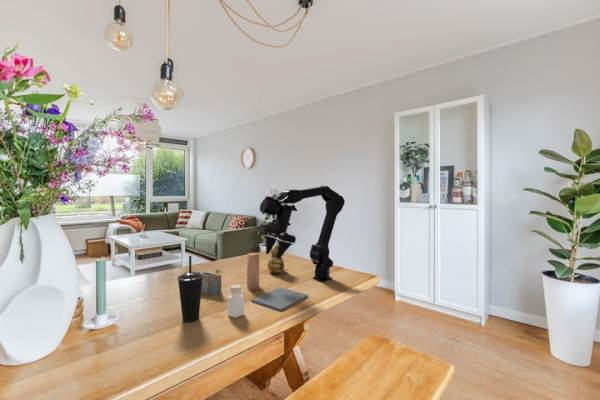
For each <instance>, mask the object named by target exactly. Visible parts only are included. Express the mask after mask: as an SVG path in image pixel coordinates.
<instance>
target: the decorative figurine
mask: <svg viewBox="0 0 600 400" xmlns="http://www.w3.org/2000/svg"><path fill="white" fill-rule="evenodd" d="M278 246H279V244H278V241H276V242H275V244H274V246H273V247H272V249H271V251H270V253H271V257H269V259H268V261H267V268H268V270H269V271H270V272H271V274H276V275H277V274H278V275H281V274H282V273H283V272H284V269H285V263H284V259H283V256H281V257H280V258H279V259H278V258H277V251H278ZM284 254H285V252H284V253H283V255H284Z"/></svg>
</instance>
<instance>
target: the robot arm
mask: <svg viewBox="0 0 600 400" xmlns="http://www.w3.org/2000/svg"><path fill="white" fill-rule="evenodd" d="M319 196H320V197H321V198H322V200H323V201H324V202H325V211H326V214H325V216H324V219H323V223H322V227H321V230H320V234H319V237H318V240H317V242H316V243H315V244H312V245H311V248H310V250H309V258H310V260H311V261H312V264H313V265H315V270H314V276H313V277H312V279H314V280H316V281H317V280H318V281H321V282H326V281H330V280H332V279H333V277H331V276H330V272H331V269H330V268H332V267H333V265H334V261H333V260H332V259H331V257H330V248H329V243H330V240H331V238H332V234H333V230H334V227H335V223H336V220H337V216H338V215H339V214H340V213H341V211H342V210H343V208H344V206H345V202H346V201H345V199H344V197H343V196H342V195H340V194H339V193H338V192H336V191H334V190H333V189H331V187H329V186H328V185H320V186H316V187H312V188H304V189H283V190H281V192H280V194H279V195H278V196H277V197H275V198H273V197H271V196H268V195H265V197H264V199H263V200H262V202H261V203H260V206H259V211H260V213H263V214H267V215H270V216H271V217H272V216H273V217H275V218H273V219H272V221H268V222H263V223H259V231H260V232H261V234H262V237H263V238H264V241H265V253H266V254H265V255H269V254H270V253H271V249H272V247H273V246H275V245H276V243H277V242H278V244H279V246H278V251H277V258H278V259H279V258H280V257H283V256H284V254H285V253H286V251H287V250H288V249H289V248H290V247H291V246H293V244H296V240H297V238H296V236H295V235H292V234H289V233H288V232H287V231H288V227H290V226H291V224H292V223H290V220H291V215H292V213H293V212H297V211H298V209H297V208H296V205H295V204H296V203H298V202H301V201H303V200H304V199H309V198H314V197H319ZM283 253H284V254H283Z"/></svg>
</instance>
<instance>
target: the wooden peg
mask: <svg viewBox="0 0 600 400" xmlns="http://www.w3.org/2000/svg"><path fill="white" fill-rule="evenodd" d="M246 289H247V290H249V291H254V290H258V289H260V253H258V252H249V253H247V254H246Z"/></svg>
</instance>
